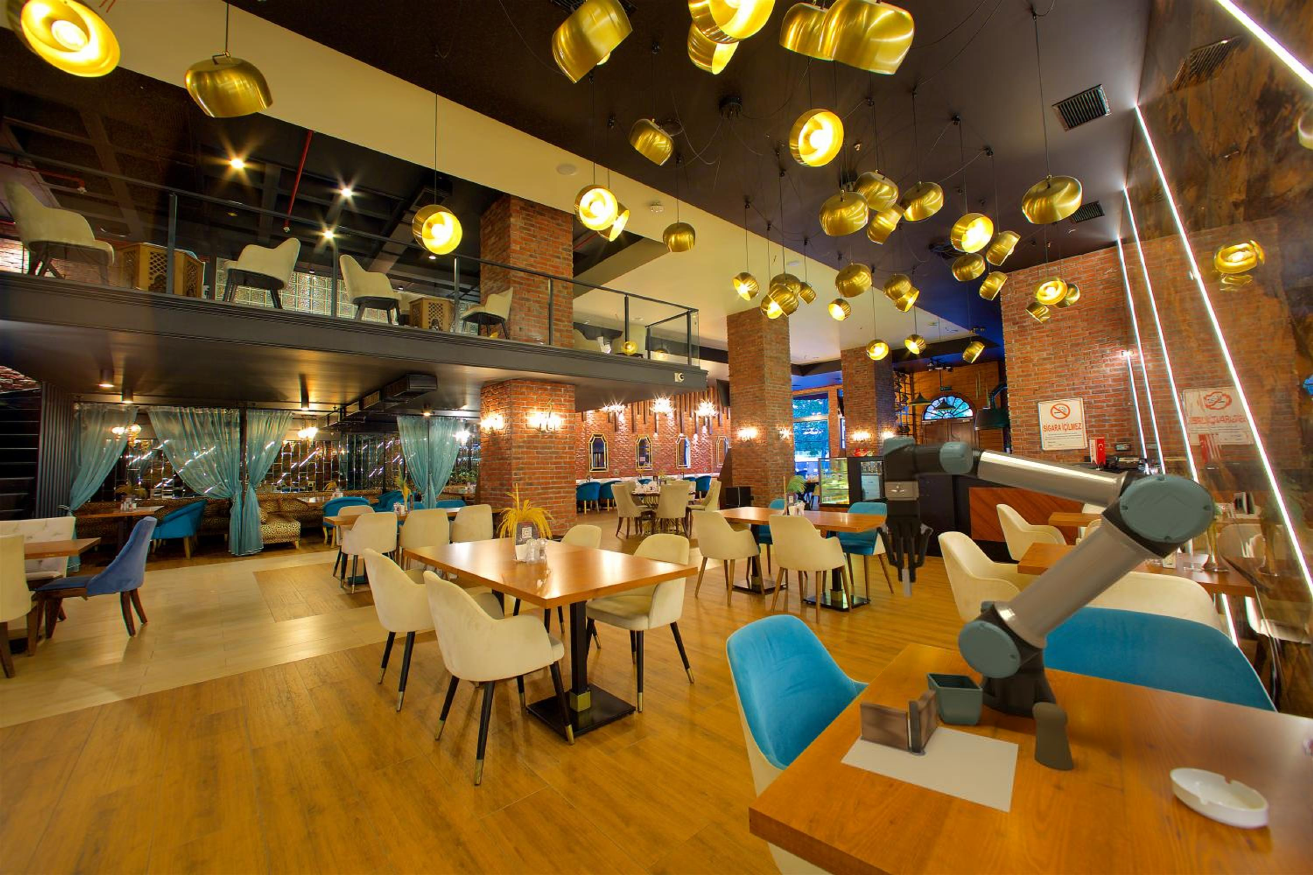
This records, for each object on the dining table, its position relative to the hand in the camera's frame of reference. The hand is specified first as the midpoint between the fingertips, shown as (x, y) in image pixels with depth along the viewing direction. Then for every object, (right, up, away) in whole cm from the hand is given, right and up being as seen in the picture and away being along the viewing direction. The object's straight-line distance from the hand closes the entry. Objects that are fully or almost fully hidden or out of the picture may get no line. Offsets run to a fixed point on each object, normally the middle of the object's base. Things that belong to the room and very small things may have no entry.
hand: (908, 595), depth 129 cm
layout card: (-10, -22, -30) cm, 38 cm away
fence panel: (-7, -21, -23) cm, 32 cm away
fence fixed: (-16, -21, -26) cm, 37 cm away
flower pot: (+3, -23, -15) cm, 28 cm away
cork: (+11, -21, -34) cm, 41 cm away
